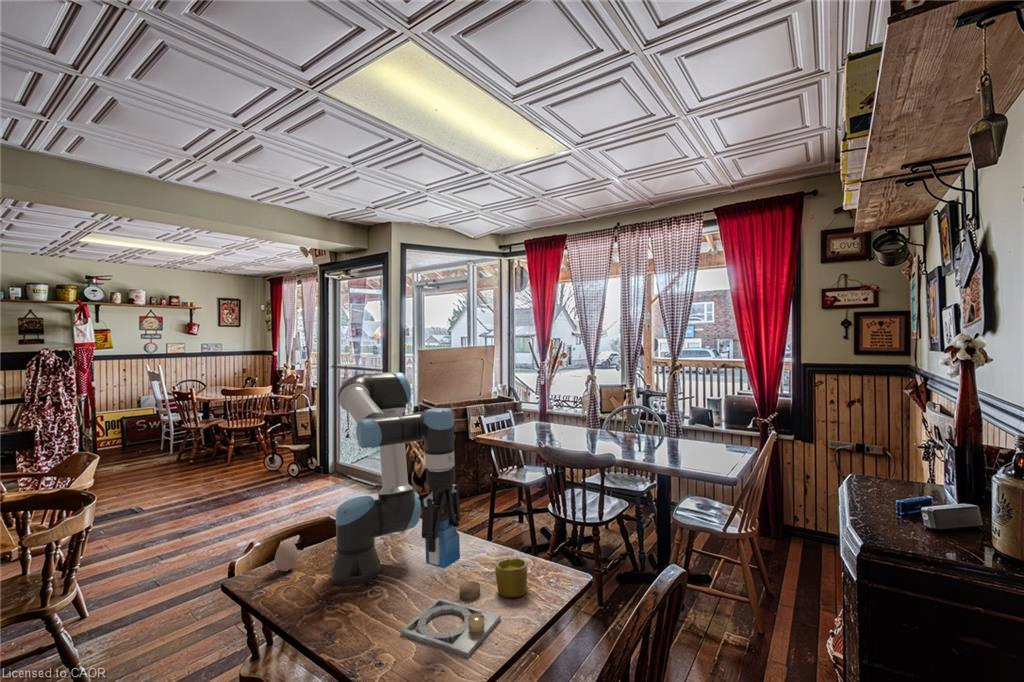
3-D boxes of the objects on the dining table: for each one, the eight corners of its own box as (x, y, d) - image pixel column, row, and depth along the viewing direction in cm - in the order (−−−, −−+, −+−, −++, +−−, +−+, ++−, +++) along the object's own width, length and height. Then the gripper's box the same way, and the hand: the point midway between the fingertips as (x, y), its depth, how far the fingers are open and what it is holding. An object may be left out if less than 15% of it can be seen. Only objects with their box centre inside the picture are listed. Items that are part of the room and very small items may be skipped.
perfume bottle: (444, 568, 111) (442, 520, 111) (426, 563, 114) (424, 516, 115) (459, 558, 116) (458, 512, 116) (441, 553, 119) (440, 508, 120)
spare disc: (455, 597, 128) (455, 589, 128) (466, 587, 133) (466, 579, 133) (473, 602, 125) (472, 593, 125) (483, 592, 130) (483, 583, 130)
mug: (529, 597, 123) (519, 559, 126) (496, 606, 125) (486, 568, 128) (539, 583, 135) (529, 549, 137) (508, 591, 137) (499, 557, 139)
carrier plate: (400, 635, 111) (400, 618, 111) (438, 601, 126) (438, 586, 126) (467, 658, 102) (467, 639, 102) (500, 619, 116) (500, 603, 117)
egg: (293, 563, 151) (293, 535, 151) (301, 570, 146) (300, 540, 146) (272, 571, 146) (271, 541, 146) (279, 578, 141) (278, 547, 141)
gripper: (428, 479, 106) (431, 577, 105) (472, 460, 123) (475, 544, 122) (404, 476, 109) (406, 571, 108) (450, 458, 126) (452, 540, 126)
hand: (442, 557), depth 115 cm, fingers closed on perfume bottle, 6 cm apart
